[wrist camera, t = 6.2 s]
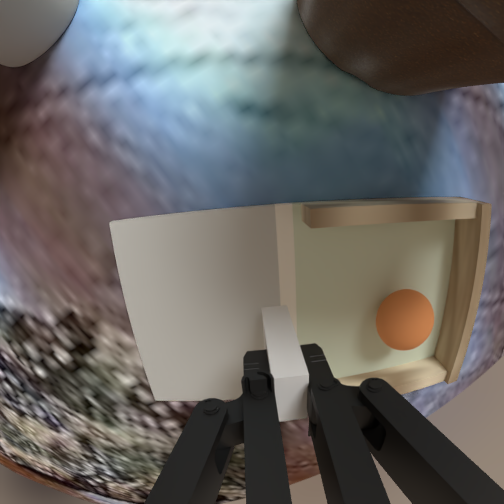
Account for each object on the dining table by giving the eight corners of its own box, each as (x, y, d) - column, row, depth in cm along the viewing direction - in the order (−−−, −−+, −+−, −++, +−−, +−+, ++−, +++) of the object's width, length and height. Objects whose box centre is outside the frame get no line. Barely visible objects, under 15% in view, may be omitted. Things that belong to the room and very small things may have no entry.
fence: (302, 387, 21) (310, 419, 18) (298, 202, 18) (312, 210, 14) (436, 358, 22) (456, 380, 18) (460, 197, 18) (491, 203, 14)
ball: (364, 354, 17) (421, 368, 15) (371, 299, 16) (436, 311, 14) (381, 325, 20) (430, 335, 18) (387, 275, 19) (441, 285, 17)
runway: (156, 395, 21) (155, 400, 21) (113, 220, 17) (109, 222, 17) (436, 358, 22) (440, 362, 21) (460, 197, 18) (465, 198, 17)
